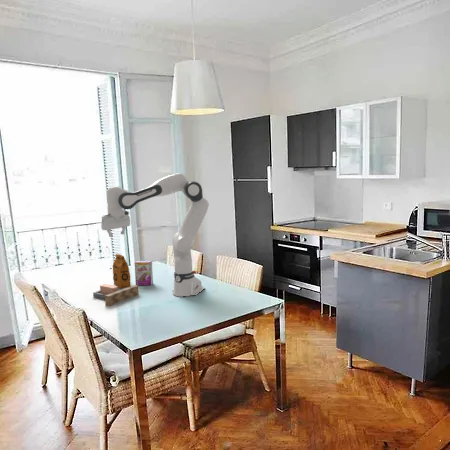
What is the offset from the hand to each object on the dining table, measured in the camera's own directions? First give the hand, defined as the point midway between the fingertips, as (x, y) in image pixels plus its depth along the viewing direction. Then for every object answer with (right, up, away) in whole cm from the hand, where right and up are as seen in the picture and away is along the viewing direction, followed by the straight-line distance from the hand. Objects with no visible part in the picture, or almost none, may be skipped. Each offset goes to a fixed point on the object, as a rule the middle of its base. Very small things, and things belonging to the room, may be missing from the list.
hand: (116, 235), depth 239 cm
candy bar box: (+11, -35, +30) cm, 47 cm away
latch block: (-6, -38, +5) cm, 39 cm away
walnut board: (+4, -40, -1) cm, 40 cm away
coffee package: (-4, -36, +27) cm, 45 cm away
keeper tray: (-6, -39, +5) cm, 40 cm away
